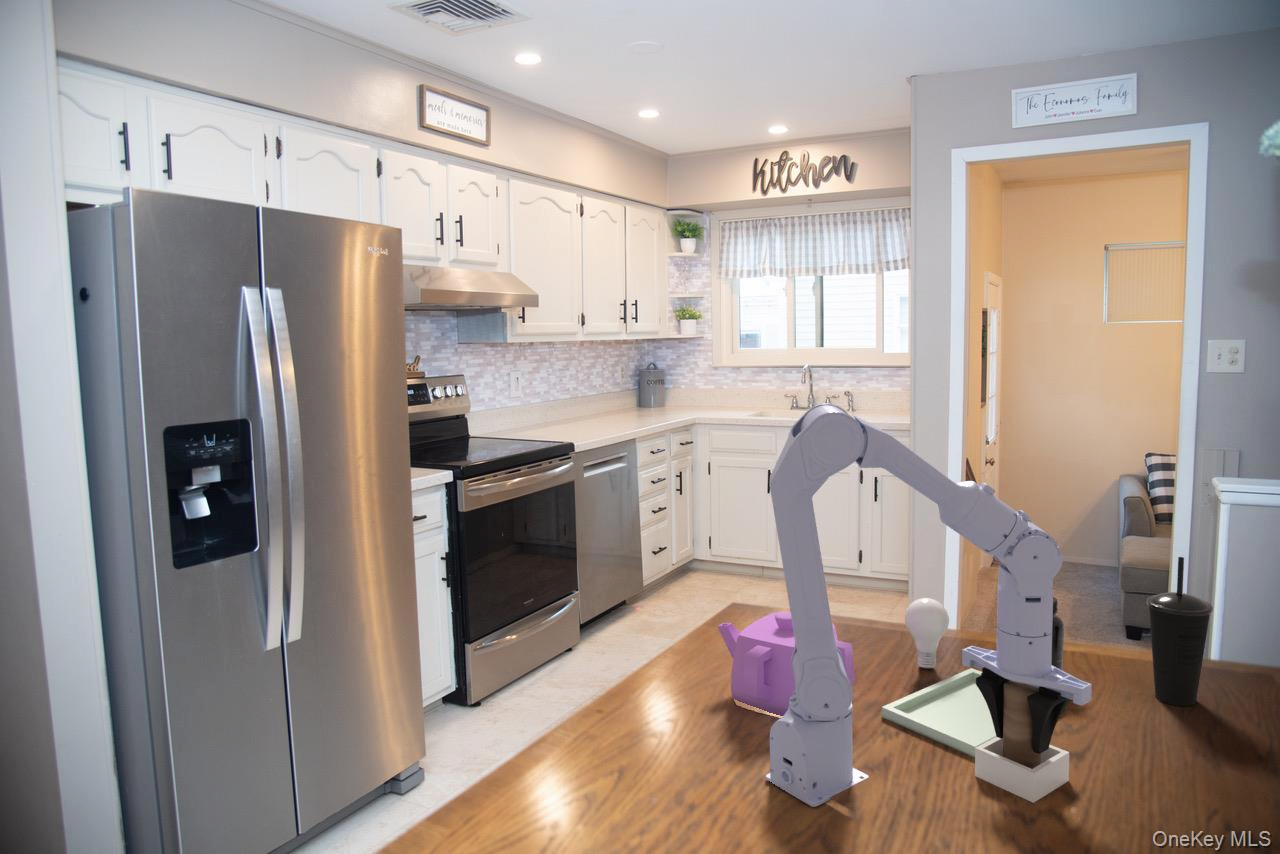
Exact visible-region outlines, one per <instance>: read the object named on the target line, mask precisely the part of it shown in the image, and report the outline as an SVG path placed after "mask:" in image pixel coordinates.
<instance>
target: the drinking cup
mask: <svg viewBox="0 0 1280 854" xmlns="http://www.w3.org/2000/svg"><path fill="white" fill-rule="evenodd" d="M1184 569H1185V557H1183V556H1178V557H1177V576H1176V577H1177V580H1176V582H1177V583H1176V591H1171V592H1170V591H1168V592H1163V593H1160V594H1159V593H1158V594H1155V595H1154V594H1153V595H1151V596H1148V597H1147V598H1146V605H1147V606H1148V609H1149V613H1148V614H1149V627H1150V638H1151V639H1150V640H1151V653H1152V655H1151V656H1152V668H1153V681H1154V682H1153V683H1154V686H1153V687H1154V695H1155V698H1156V699H1158V700H1159V701H1160V702H1162V703H1166V704H1169V705H1172V706H1179V707H1191V706H1194V705H1196V703H1197V697H1198V692H1199V686H1200V680H1201V679H1200V678H1201V673H1202V667H1203V660H1204V654H1205V648H1206V647H1205V646H1206V642H1207V641H1206V640H1207V635H1208V627H1209V622H1210V615H1211V614H1212V613H1213V611H1214V607H1213V605H1212V604H1211V603H1209V602H1208V601H1205V600H1203V599H1201V598H1199V597H1197V596H1195V595H1192V594H1189V593H1186V592H1185V593H1184V592H1183V591H1184Z"/></svg>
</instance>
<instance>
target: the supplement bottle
mask: <svg viewBox="0 0 1280 854" xmlns="http://www.w3.org/2000/svg"><path fill="white" fill-rule="evenodd" d="M1058 612H1059V608H1058V598H1057V597H1055V596H1053V620H1052V661H1051V665H1052V666H1054V667H1056V668H1058V669H1060V670H1062V671H1063V668H1064V667H1063V665H1064V663H1063V662H1064V641H1065V640H1064V638H1065V623H1064V621H1063V620H1062V618H1061V617H1060V616H1059V615H1057V614H1058Z"/></svg>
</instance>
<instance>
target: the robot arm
mask: <svg viewBox="0 0 1280 854" xmlns="http://www.w3.org/2000/svg"><path fill="white" fill-rule="evenodd" d="M854 463H856V464H857V466H858V467H859V468H861V469H877V468H880V469H884V470H886V471H887V472H889V473H890V474H891V475H893V476H894V477H896V478H898V479H899V480H901V481H902V482H904V483H905V484H906V485H908V486H910V487H911V488H913V489H914V490H915V491H916V492H918V493H920V494H922V495H923V496H925V498H928V499H929V500H931V501H932V502H934V503H935V504H936V505H937V507H938V513H939V519H940V521H941V522H942V524H944V525H945V526H947V527H949V528H950V529H951V530H953V531H954V532H956V533H957V534H959V536H961V537H963V538H964V539H966V540H967V541H968V542H970V543H971V544H973V545H974V546H975V547H977V548H978V549H980V550H981V551H982V552H983V553H985V554H987V555H990V556H993V558H994V559H995V560H996V561H997V562H1000V564H998V574H997V575H998V581H997V582H998V584H997V592H996V593H997V595H996V596H997V597H996V599H997V602H996V650H992V649H986V648H982V647H978V646H974V645H971V646H968V647H966V648H962V650H961V651H962V652H961V654H962V655H961V656H962V659H961V665H962V666H965V667H968V668H972V667H975V668H978V669H981V672H982V673H981V676H979V677H977V678H976V685H977V687H978V688H979V690H980V692H981V693H982V695H983V697H984V699H985V701H986V703H987V706H988V708H989V711H990V714H991V718H992V721H993V725H994V729H995V733H996V737H998V738H1001V739H1002V738H1003V709H1004V683H1005V682H1006V681H1009V680H1012V681H1016V682H1021V683H1025V684H1028V685H1030V686H1033V687H1036V688H1039V692H1035V693H1033V694H1031V695H1029V696H1027V701H1028V704H1029V707H1030V712H1031V717H1032V728H1033V729H1032V747H1033V752H1035V753H1038V754H1041V753H1042V752H1044V751H1046V750H1048V749H1049V745H1051V744H1050V743H1051V741H1052V737H1053V733H1054V732H1055V729H1056V726H1057V723H1058V721H1059V719H1060V718H1061V715H1062V713H1063V712H1064V711H1065V708H1066V707H1067V705H1068V704H1069V703H1070V701H1071V700H1072V703H1073V704H1075V705H1078V706H1081V707H1082V706H1084V705H1086V704H1088V703H1090V702H1091V701H1092V685H1093V684H1092V683H1089V682H1087V681H1084V680H1081V679H1079V678H1078V677H1075V676H1074V675H1071V674H1070V673H1067V672H1065V671H1064V670H1063V669H1062V670H1060V669H1058V668H1056V667H1054V666H1052V665H1051V661H1052V620H1053V597H1054V591H1053V590H1054V586H1053V585H1054V577H1056V575H1058V573H1059V572H1060V570H1061V569H1062V566H1063V562H1064V558H1065V557H1064V556H1063V555H1061V551H1060V547H1059V546H1058V543H1057V540H1055V538H1054V537H1053V536H1052V535H1050V534H1049V533H1048V532H1046V531H1045V530H1043V529H1042V528H1040V527H1039V526H1037V525H1036V524H1034V523H1033V521H1032V519H1030V518H1031V516H1030V514H1028V513H1026V511H1023V510H1022V509H1019V510H1018V511H1016V510H1015V509H1013V508H1012V507H1011V506H1010V505H1008V504H1007V503H1005V502H1004V501H1002V500H1001V499H999V498H998V497H997V496H996V495H994V494H995V493H996V489H994V488H993V487H992V486H991V485H990V484H989V485H988V484H987V483H986V482H982V483H981V484H979V483H977V482H976V481H973V480H965V481H953V480H951V479H950V478H949V477H947V476H946V475H945V474H943V472H941V471H940V470H938V469H937V468H935V466H933V465H931V464H930V463H929V462H927V461H926V460H925V459H924V458H923V457H920V456H919V455H918V454H917V453H915V452H914V451H912V450H911V449H910V448H909V447H907V446H906V445H905V444H903V443H901V442H900V441H899V440H898V439H896V437H894V436H893V435H891V434H890V433H889V432H887V431H885V430H883V429H882V428H880V427H878V426H876V425H874V424H872V423H870V422H868V421H866V420H865V419H862V418H860V417H858V416H857V415H853V416H851V415H850V414H849V413H848V412H847V411H846V410H845V409H843V408H842V407H840V406H839V405H837V404H833V403H821V404H817V405H815V406H812V407H811V408H809V409H808V410H806V412H805V413H803V414H802V416H801V417H800V418H799V419H797V420H796V422H795V423H794V424H793V425H791V427H790V431H789V433H788V437H787V439H786V442H785V443H784V446H783V448H782V450H781V453H780V455H779V457H778V459H777V460H776V463H775V466H774V467H773V470H772V472H771V473H770V477H769V491H770V496H771V501H772V507H773V515H774V520H775V526H776V532H777V533H776V534H777V538H778V539H777V540H778V543H779V550H780V556H781V562H782V568H783V575H784V581H785V582H784V583H785V588H786V593H787V598H788V605H789V611H790V612H789V613H791V618H792V625H793V632H794V638H795V648H794V651H793V654H792V657H791V669H792V672H793V674H794V680H795V686H796V689H795V691H794V692H793V695H792V696H791V697H790V701H789V708H788V710H787V712H786V713H785V714H784V716H783V717H782V718H780V719H779V718H778V719H777V720H776V721H775V722H774V723H773V724H772V725H771V727H770V730H769V770H770V771H769V773H767V774H765V779H766V778H767V781H768V780H769V781H770V783H771V782H772V783H771V784H773V785H774V784H775V786H776V787H778V788H779V787H780V788H779V789H781V790H783V791H784V790H785V792H786V793H788V794H790V795H791V796H793V797H795V798H796V799H798V800H800V801H801V802H803V803H805V804H807V805H809V806H810V807H812V808H817V807H818V806H820V805H822V804H825V803H826V802H828V801H830V800H832V798H831V797H834V796H836V795H837V794H840V793H841V792H844V791H845V790H847V789H849V788H851V787H853V786H855V785H858V784H859V783H861V782H863V781H865V780H868V779H869V778H870V776H869V775H868V774H866V773H864V772H862V771H860V770H858V769H857V768H856V767H855V768H854V766H853V761H854V760H853V757H854V755H853V753H854V752H853V703H852V702H853V698H854V690H853V686H852V685H853V684H852V685H851V682H850V681H849V679H848V677H847V674H846V671H845V668H844V662H843V657H842V654H841V652H840V650H839V649H838V648H837V646H836V642H835V637H834V633H833V627H832V623H833V620H832V615H831V610H830V605H829V604H830V602H829V597H828V591H827V583H826V578H825V572H824V567H823V565H824V564H823V560H822V553H821V546H820V539H819V533H818V529H817V528H818V527H817V521H816V516H815V515H816V514H815V510H814V509H815V508H814V502H813V497H814V495H815V494H816V493H817V492H818V491H819V490H820V488H821V487H823V485H824V484H825V482H827V480H829V478H830V477H832V476H834V475H835V474H837V473H839V472H841V471H843V470H845V469H846V468H848V467H849V466H851V465H852V464H854ZM1063 710H1064V711H1063ZM769 781H768V782H769Z"/></svg>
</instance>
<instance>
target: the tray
mask: <svg viewBox="0 0 1280 854" xmlns="http://www.w3.org/2000/svg"><path fill="white" fill-rule="evenodd" d="M981 673H982V670H977V669H975V668H972V667H969V668H968V669H965V670H963V671H961V672H959V673H956V674H955V675H953V676H950V677H948V678H946V679H945V678H944V679H943V680H941V681H939V682H936V683H934V684H931V685H929V686H927V687H924V688H923V689H920V690H917V691H915V692H913V693H911V694H908V695H906V696H904V697H901V698H899V699H896V700H895V701H892V702H890V703H888V704H885V705H883V706H881V718H882V719H885V720H887V721H890V722H892V723H894V724H896V725H898V726H901V727H903V728H905V729H907V730H910V731H912V732H914V733H917V734H919V735H921V736H924V737H926V738H928V739H930V740H933V741H934V742H938V743H940V744H942V745H944V746H946V747H949V748H951V749H953V750H956V751H958V752H960V753H962V754H965V755H966V756H969V757H972V758H973V759H975V748H976V747H978V746H980V745H982V744H984V743H986V742H988V741H989V740H991V739H993V738H995V737H996V733H995V729H994V725H993V721H992V718H991V714H990V711H989V708H988V706H987V703H986V701H985V699H984V697H983V695H982V693H981V692H980V690H979V688H978V687H977V685H976V678H977V677H979V676H981ZM1064 711H1065V709H1064V710H1063V712H1064Z"/></svg>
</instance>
